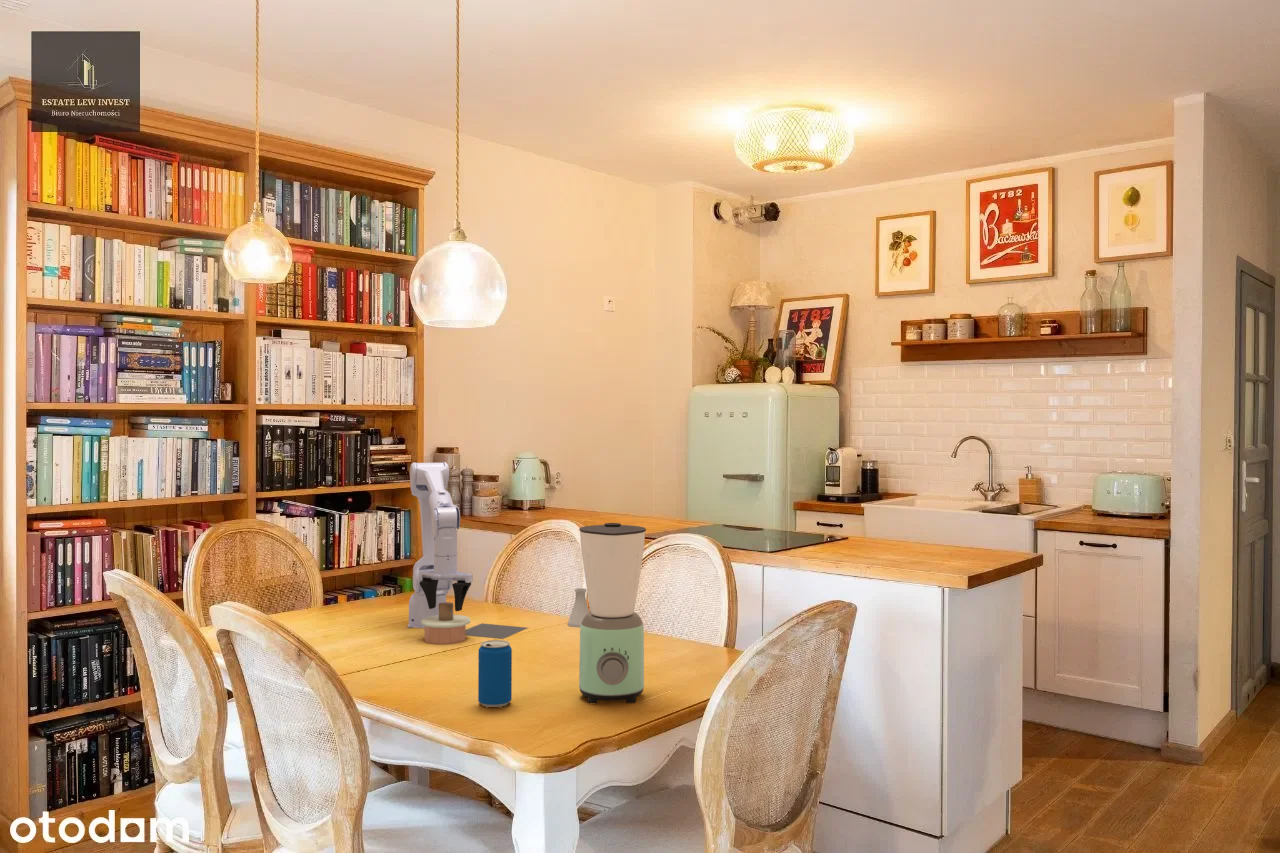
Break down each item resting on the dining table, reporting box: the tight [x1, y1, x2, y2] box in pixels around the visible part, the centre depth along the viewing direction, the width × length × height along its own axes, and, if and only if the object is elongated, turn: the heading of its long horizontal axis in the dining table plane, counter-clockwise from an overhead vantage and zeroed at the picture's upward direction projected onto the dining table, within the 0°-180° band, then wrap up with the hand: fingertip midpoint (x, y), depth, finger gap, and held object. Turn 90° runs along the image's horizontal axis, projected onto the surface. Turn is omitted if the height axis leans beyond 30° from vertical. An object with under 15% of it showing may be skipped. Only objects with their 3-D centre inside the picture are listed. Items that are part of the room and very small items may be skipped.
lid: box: [421, 601, 471, 628], centre depth 249 cm, size 12×12×5 cm
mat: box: [466, 623, 528, 640], centre depth 259 cm, size 14×14×1 cm
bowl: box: [424, 625, 467, 645], centre depth 249 cm, size 10×10×4 cm
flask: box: [567, 587, 590, 628], centre depth 268 cm, size 7×7×10 cm
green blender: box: [578, 522, 647, 704], centre depth 202 cm, size 19×13×35 cm
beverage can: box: [477, 639, 513, 708], centre depth 195 cm, size 6×6×12 cm
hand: (445, 609), depth 249 cm, fingers open, 7 cm apart
